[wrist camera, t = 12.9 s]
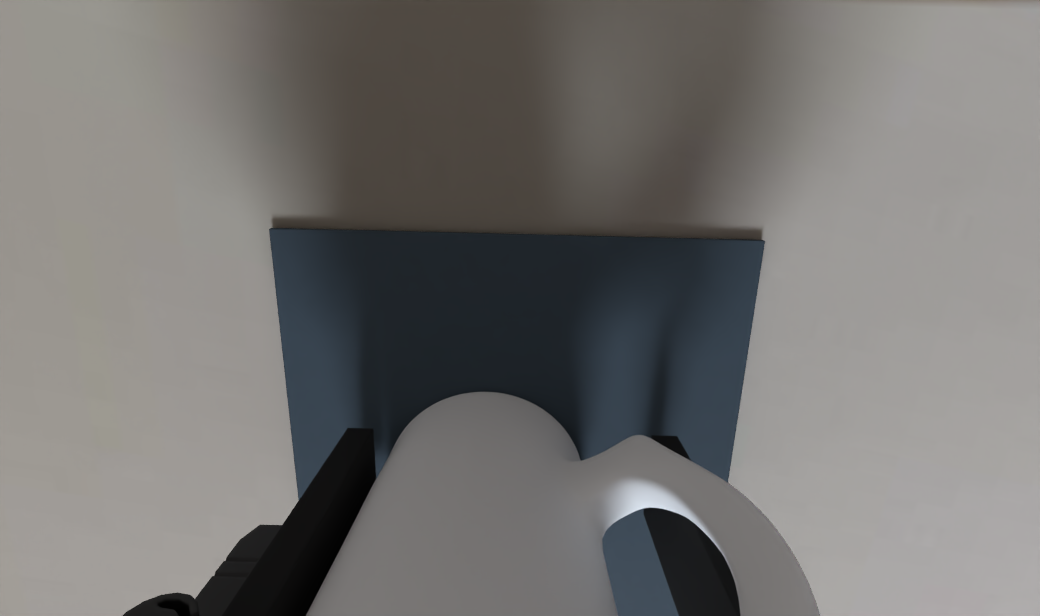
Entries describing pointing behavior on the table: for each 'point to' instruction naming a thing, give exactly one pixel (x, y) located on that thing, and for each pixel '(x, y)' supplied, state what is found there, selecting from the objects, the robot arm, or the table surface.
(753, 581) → the mug
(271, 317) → the table surface
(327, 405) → the mat
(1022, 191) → the table surface
